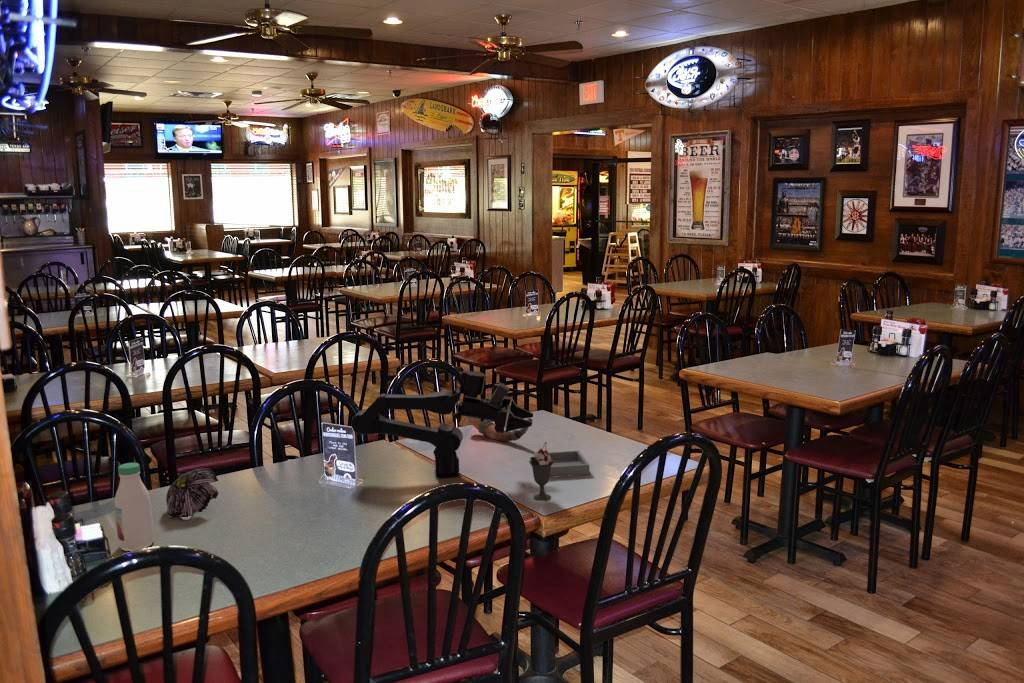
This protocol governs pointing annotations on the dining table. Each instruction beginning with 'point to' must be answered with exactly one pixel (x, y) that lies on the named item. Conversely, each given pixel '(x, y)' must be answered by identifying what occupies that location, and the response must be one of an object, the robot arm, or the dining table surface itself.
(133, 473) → the milk bottle
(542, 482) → the sundae
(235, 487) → the dining table surface
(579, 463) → the tray
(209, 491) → the decorative flower
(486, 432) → the drinking horn
